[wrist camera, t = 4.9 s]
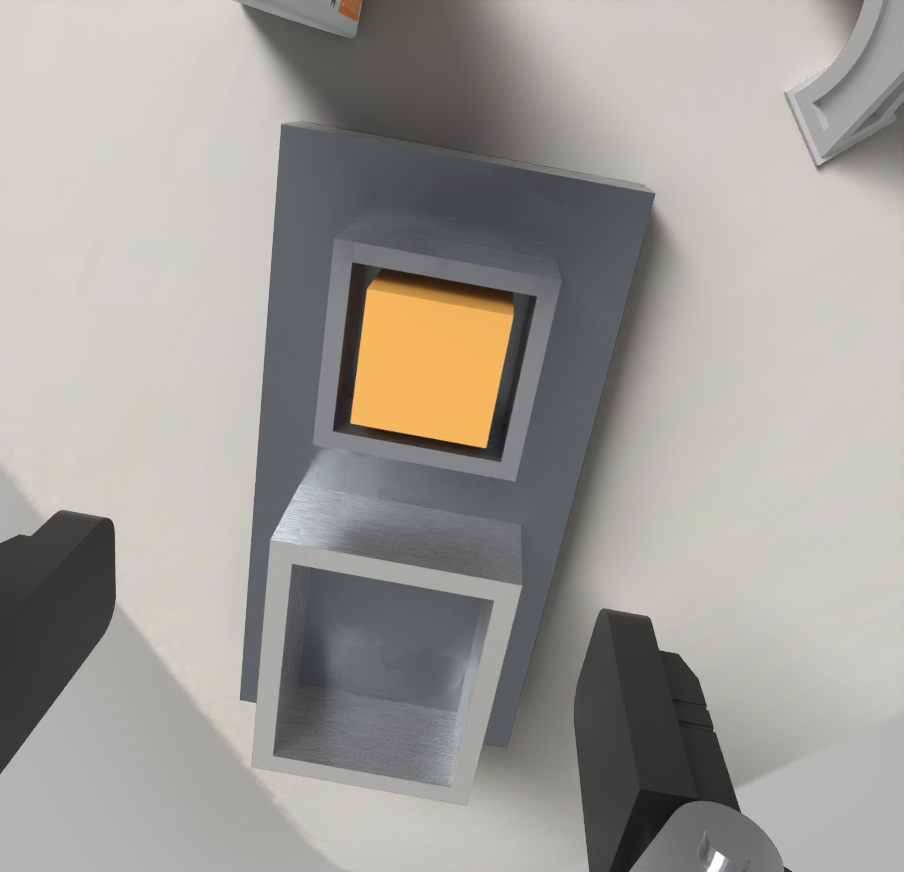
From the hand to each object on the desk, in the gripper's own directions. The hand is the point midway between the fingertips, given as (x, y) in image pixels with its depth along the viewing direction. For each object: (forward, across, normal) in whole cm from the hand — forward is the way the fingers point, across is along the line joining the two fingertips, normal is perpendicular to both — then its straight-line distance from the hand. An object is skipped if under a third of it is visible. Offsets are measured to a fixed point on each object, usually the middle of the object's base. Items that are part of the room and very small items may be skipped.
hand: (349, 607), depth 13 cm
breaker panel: (+18, 0, +6) cm, 19 cm away
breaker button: (+15, 0, 0) cm, 15 cm away
